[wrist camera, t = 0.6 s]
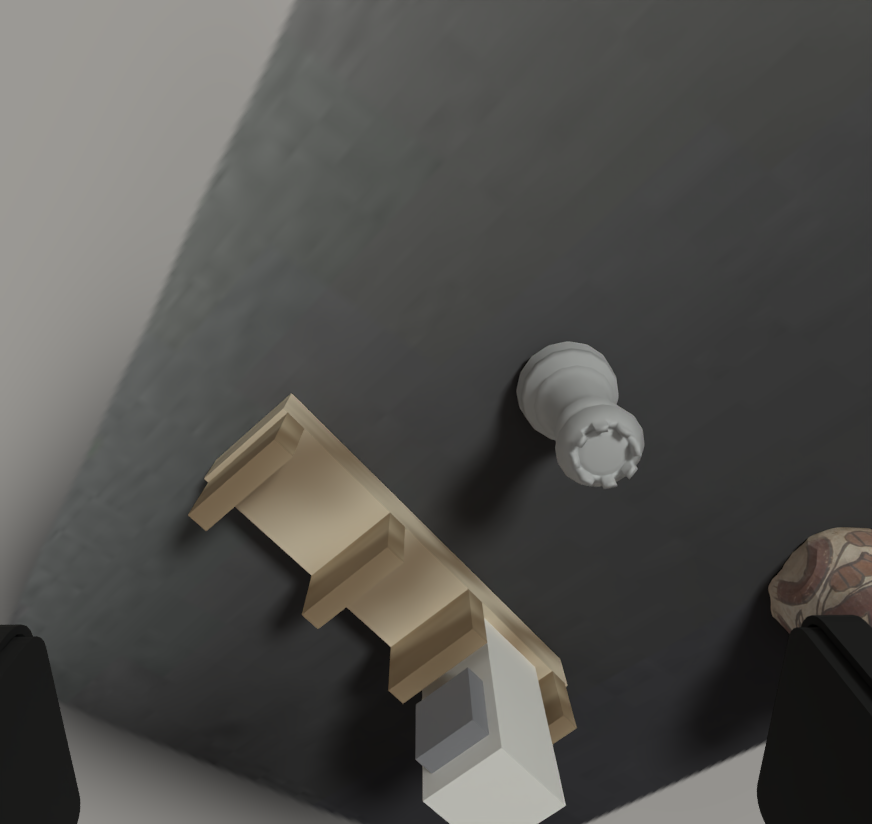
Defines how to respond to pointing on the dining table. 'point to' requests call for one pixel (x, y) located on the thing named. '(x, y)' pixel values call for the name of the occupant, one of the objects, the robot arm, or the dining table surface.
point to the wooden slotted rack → (368, 555)
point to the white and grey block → (487, 741)
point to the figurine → (825, 578)
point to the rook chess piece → (581, 413)
